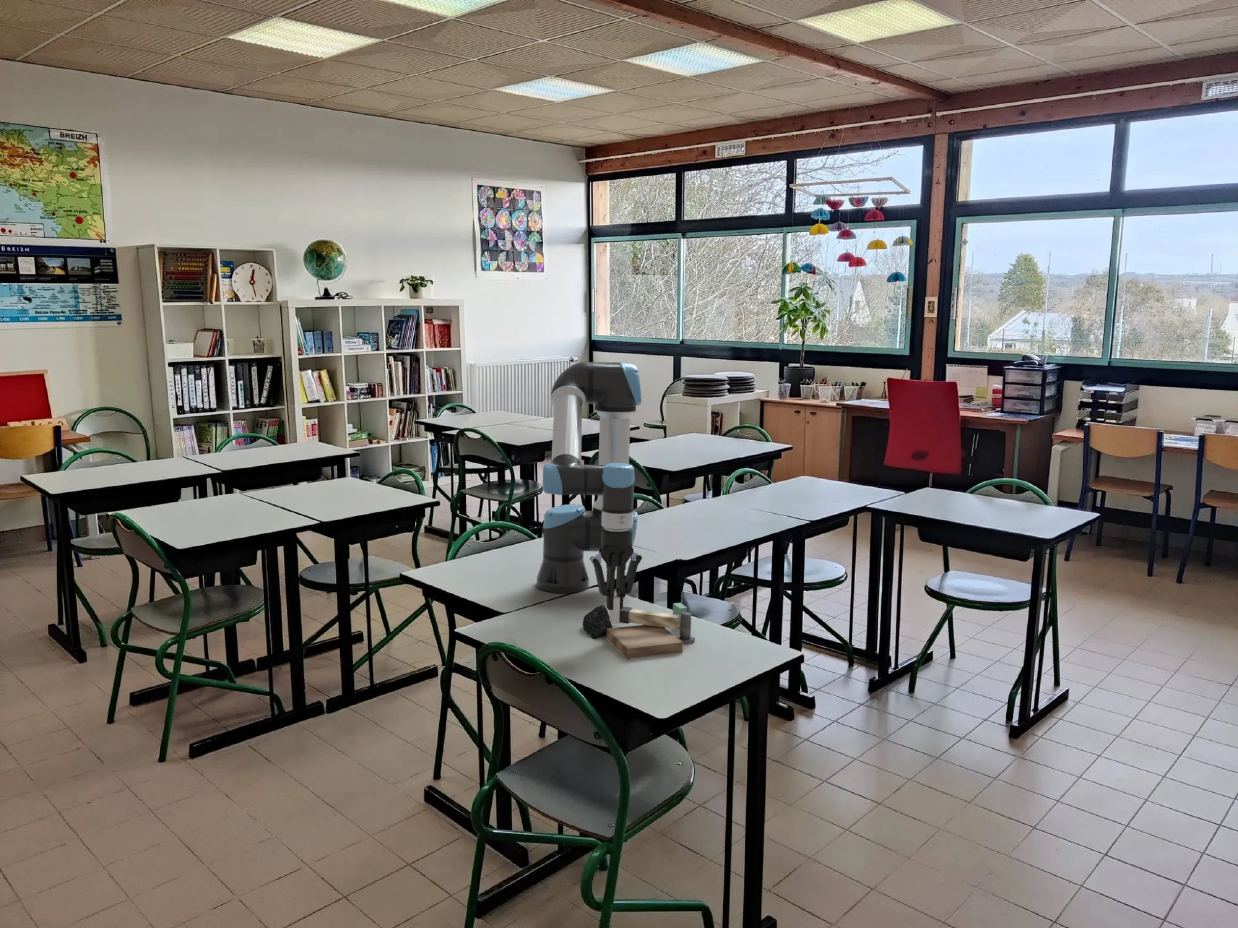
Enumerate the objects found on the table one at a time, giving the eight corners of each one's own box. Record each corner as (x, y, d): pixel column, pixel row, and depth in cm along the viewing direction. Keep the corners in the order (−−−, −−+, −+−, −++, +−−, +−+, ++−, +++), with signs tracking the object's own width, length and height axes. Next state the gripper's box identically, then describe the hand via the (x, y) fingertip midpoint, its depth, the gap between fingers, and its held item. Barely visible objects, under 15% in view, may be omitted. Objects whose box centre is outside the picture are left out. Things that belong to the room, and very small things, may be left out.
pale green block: (672, 625, 240) (673, 603, 239) (679, 624, 241) (680, 602, 240) (678, 630, 236) (679, 608, 235) (686, 629, 237) (686, 607, 236)
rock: (590, 640, 228) (591, 617, 227) (578, 626, 238) (578, 604, 237) (617, 637, 230) (618, 615, 229) (604, 624, 240) (605, 602, 239)
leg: (679, 626, 231) (679, 613, 231) (675, 630, 228) (676, 617, 228) (622, 618, 236) (623, 606, 235) (618, 622, 233) (619, 610, 232)
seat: (606, 638, 229) (607, 611, 228) (681, 629, 237) (682, 604, 236) (627, 658, 217) (628, 630, 215) (706, 649, 224) (707, 622, 223)
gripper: (596, 533, 218) (594, 629, 223) (648, 529, 223) (644, 624, 227) (586, 525, 225) (584, 619, 229) (636, 522, 230) (633, 614, 234)
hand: (614, 621), depth 228 cm, fingers closed
